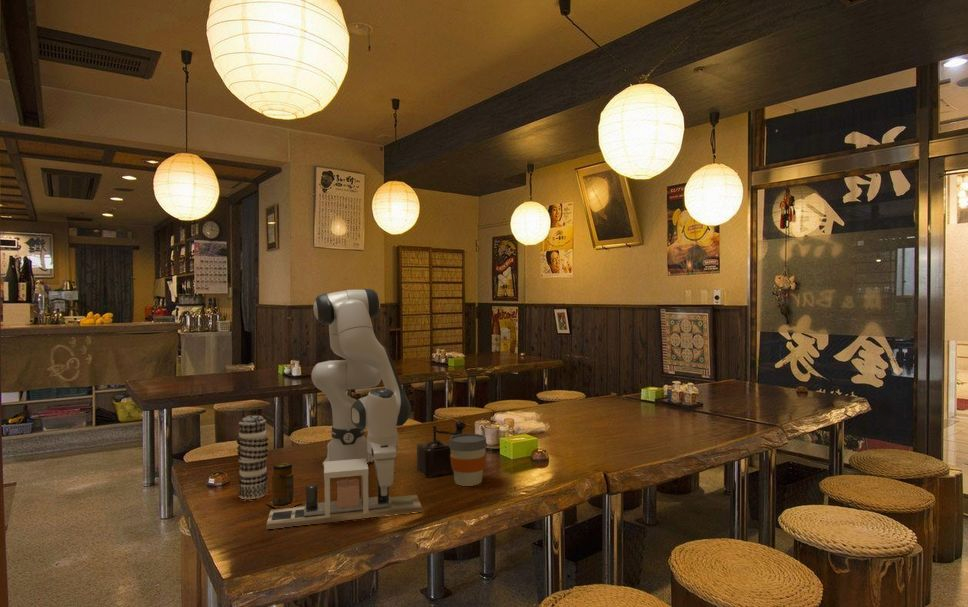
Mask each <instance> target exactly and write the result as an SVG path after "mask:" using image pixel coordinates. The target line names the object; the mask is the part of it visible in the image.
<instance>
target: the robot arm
mask: <svg viewBox="0 0 968 607" xmlns="http://www.w3.org/2000/svg"><path fill="white" fill-rule="evenodd" d="M380 309H381V300H380V297H379V296H378V293H377V291H375V290H374V289H371V288H364V289H345V290H340V291H334V292H330V293H326V292H325V293H322V294H319V295H317V296H316V297H315V299H314V302H313V314H314V317H315V319H316V320H317V322H318V323H319V324H322V325H328V333H329V345H330V346H329V347H330V350H331V351H332V352H333V353H334V354H335V355H336V356H338V357H340V358H343V359H341V360H338V359H337V360H335V359H334V360H326V361H322V362H317V363H316V364H315V365H314V366H313V368H312V370H311V381H312V384H313V386H315V388H316V389H318V390H320V391H321V392H322V393H323V395H324V396H326V398H327V399H328V401H329V403H330V406H331V413H332V414H331V415H332V416H331V417H332V427H331V440H329V442H328V443H327V445H326V450H327V454H326V455H327V457H326V458H325V459H324V461H322V465H323V466H322V465H321V466H322V467H324V462H328V461H340V460H351V459H363V458H366V460H367V463H368V462H371V463H373V464H374V470H375V472H376V473H375V474H376V477H377V483H378V482H379V486H380V487H381V496H386V495H387V488H388V487H389V488H390V487H392V486H393V484H394V476H395V475H394V474H395V459H396V458H397V455H398V454H397V453H398V451H399V441H398V440H399V435H398V428H397V427H401V426H404V424H406V423H407V421H408V420H409V418H410V416H411V414H412V406H411V402H410V400H409V398H408V397H407V394H406V393H405V391H404V389H403V386H402V383H401V381H400V378H399V375H398V372H397V370H396V367H395V364H394V362H393V359H392V356H391V355H390V354H391V353H390V352H389V350H388V348H386V346H384V345H382V344H381V343H380V342H379V340H378V339H377V337H376V334H375V332H374V326H373V323H372V319H373V318H376V317H377V316H378V315H379V314H380ZM381 382H382V383H383V386H384V388H378V387H377V386H378V385H379V384H380V383H381ZM374 387H377V388H374ZM372 388H374V389H372ZM366 389H372V390H370V391H369V392H368V393H367V395H366V396H364V397H361V398H358V399H357V398H353V397H351V396H349V395H348V394H347V392H346V391H347V390H366ZM366 430H367V435H366V437H365V431H366ZM372 461H374V462H372ZM368 464H369V463H368Z"/></svg>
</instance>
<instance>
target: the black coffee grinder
mask: <svg viewBox="0 0 968 607" xmlns="http://www.w3.org/2000/svg"><path fill="white" fill-rule="evenodd" d="M454 426H455V431H454V432H452V431H446V430H437V426H436V425H435V424H434V425H433V426H432V433H433V435H432V436H433V439H432V440H429V441H427V442H426V443H419V444H416V470H417V469H418V470H419V471H420V472H421V473H423V474H424V475H425V476H427V477H430V476H436V477H439V476H438V475H442V476H444V475H443V474H447V475H450V474H449V473H451V474H454V473H453V469H452V466H451V459H450V454H451V450H450V447H449V444H448V443H447V442H444V441H443V440H440V439H437V433H438V434H444V435H445V434H447V435H451V436H454V435H458V434H463V431H464V430H465V429H466V427H467V426H466V422H464V421H463V420H458V421H455V423H454ZM418 470H417V471H418ZM419 471H418V472H419ZM420 472H419V473H420ZM421 473H420V474H421ZM425 476H424V477H425ZM427 477H426V478H427ZM430 478H431V477H430Z"/></svg>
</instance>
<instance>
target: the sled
mask: <svg viewBox="0 0 968 607" xmlns="http://www.w3.org/2000/svg"><path fill="white" fill-rule="evenodd" d="M359 482H360V481H359V478H351V479H350V478H349V479H339V480H336V492H337V494H336V497H337V498H336V499H337V500H333V501H332V500H330V513H337V512H346V511H356V510H363V498H360V483H359ZM318 489H319V488H318V485H317V484H315V483H313V484H308V485H306V486H305V504H304V506H305V508H304V516H310V515H319V514H325V501H323V502H319V501H318V497H319V496H318V495H319V494H318ZM390 497H391V496H390V486H389V487H388V488H387V495H386V496H381V487H380V486H379V482H378V481H377V496H370V497H369V496H368V508H369V509H374V508H383V507H391V500H390Z"/></svg>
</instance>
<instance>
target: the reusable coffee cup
mask: <svg viewBox="0 0 968 607" xmlns="http://www.w3.org/2000/svg"><path fill="white" fill-rule="evenodd" d="M448 445H449V447H450V450H451V454H450V459H451V466H452V469H453V472H454V473H453V478H454V479H453V480H454V484H455V483H456V484H458V485H462V486H473V485H477V484H479V483H481V482H482V483H483V474H484V469H485V465H486V459H487V458H486V457H487V453H486V448H487V438H486V436H485V435H482V434H478V433H462V434H458V435H451V436H450V437H449V444H448ZM482 483H481V484H482ZM456 484H455V485H456Z"/></svg>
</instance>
